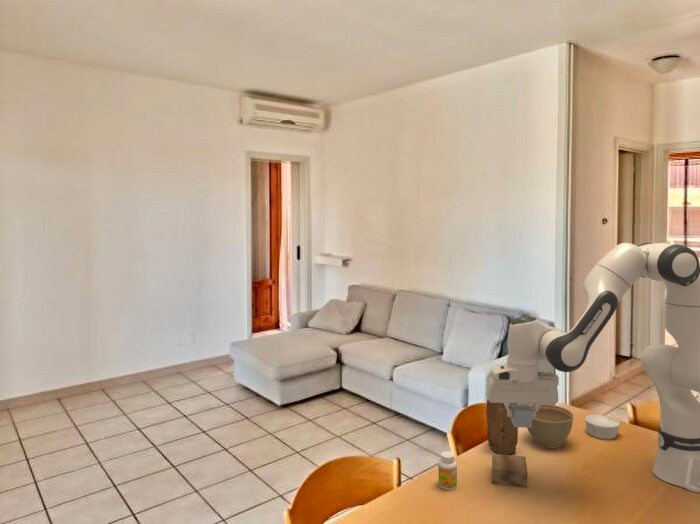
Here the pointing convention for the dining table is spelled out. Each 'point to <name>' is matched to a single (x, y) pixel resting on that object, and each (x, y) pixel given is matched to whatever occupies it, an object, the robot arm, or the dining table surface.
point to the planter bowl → (551, 425)
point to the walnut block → (509, 470)
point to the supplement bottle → (447, 471)
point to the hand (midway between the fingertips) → (521, 417)
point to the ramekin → (602, 426)
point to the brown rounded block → (501, 428)
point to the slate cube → (521, 416)
